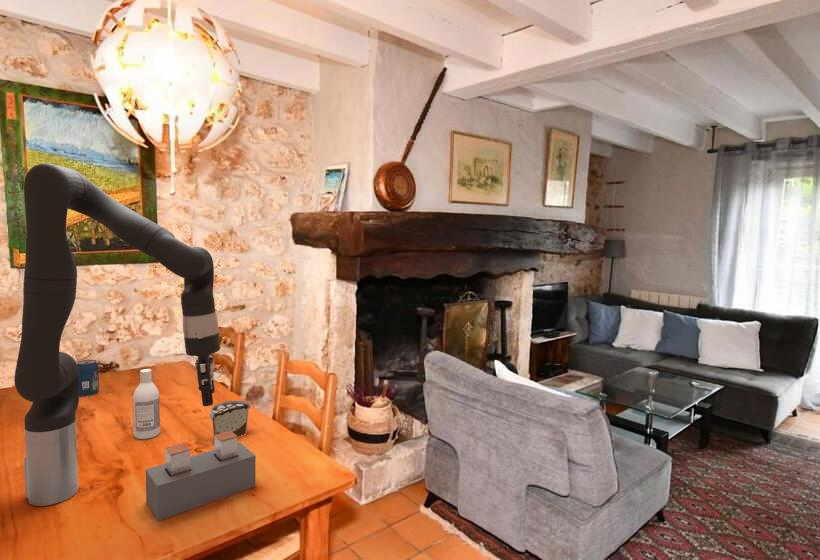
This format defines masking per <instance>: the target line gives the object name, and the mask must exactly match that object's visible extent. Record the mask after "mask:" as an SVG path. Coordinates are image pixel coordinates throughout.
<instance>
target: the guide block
mask: <svg viewBox="0 0 820 560" xmlns="http://www.w3.org/2000/svg"><path fill="white" fill-rule="evenodd" d="M256 460H257V459H256V454H254V452H252V451H251V450H250V449H249V448H248V447H247V446H245V445H244V444H243V443H241V442H237V457H234V458H231V459H228V460H224V461H221V462H220V461H219V460H218V459H217V458H216V457H215V449H211V450H209V451H205V452H201V453H198V454H194V455H190V471H188V472H185V473H182V474H178V475H175V476H172V477H170V476H169V475H168V473H167V472H166V463H163V464H159V465H157V466H152V467H149V468H146V469H145V495H146V496H145V501H146V502H145V503H146V504H147V506H148V507H149V509H150V511H151V512H152V515H153V516H154V518H155V520H156V521H157V522H160V521H162V520H165V519H167V518H171V517H173V516H177V515H179V514H182V513H185V512H188V511H190V510H194V509H197V508H199V507H201V506H204V505H208V504H210V503H213V502H215V501H218V500H220V499H225V498H227V497H229V496H232V495H235V494H238V493H240V492H243V491H247V490H249V489H252V488H254V487H256V463H257V462H256Z"/></svg>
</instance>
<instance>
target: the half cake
mask: <svg viewBox="0 0 820 560" xmlns="http://www.w3.org/2000/svg"><path fill="white" fill-rule="evenodd" d="M249 409H251V404H250V402H249V401H245V400H227V401H224V402H220V403H219V402H218V403H217V404H215V405H213V406H212V407H211V410H210V412H209V418H210V419H211V420H212V421H211V422H212V429H213V436H214V435H216V434H220V433H223V432H227V431H232V432H233V433H234V434H235V435H237V437H238V438H240V437H239V436H241V435H244V434H246V435H247V428H248V427H247V426H248V418H249ZM244 436H245V435H244ZM241 437H242V436H241Z"/></svg>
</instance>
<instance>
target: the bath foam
mask: <svg viewBox="0 0 820 560" xmlns="http://www.w3.org/2000/svg"><path fill="white" fill-rule="evenodd" d="M139 374H140V376H139V377H140V379H139V380H140V382H139V384H138V386H136V389H135V390H134V393H133V395H132V416H133V417H132V420H133V421H132V424H133V428H132V429H133V437H134V438H135V439H137V440H147V439H152V438H155V437H157V436H158V435H160V433H161V400H160V398H161V397H160V390H159V389H158V388H157V386H156V384H155V383H154V382H153V378H152V376H153V375H152V374H153V373H152V369H151V368H145V369H141V370H140V371H139Z"/></svg>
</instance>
